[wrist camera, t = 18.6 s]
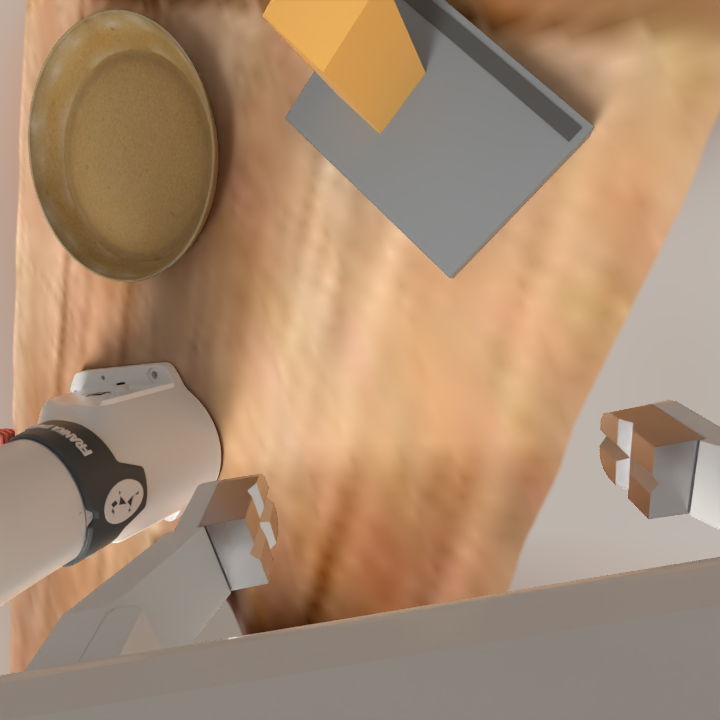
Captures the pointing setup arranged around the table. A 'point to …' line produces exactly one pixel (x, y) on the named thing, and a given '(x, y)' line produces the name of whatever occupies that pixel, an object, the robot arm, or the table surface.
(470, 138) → the plate
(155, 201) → the plant saucer
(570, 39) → the table surface
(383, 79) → the tall orange brick
